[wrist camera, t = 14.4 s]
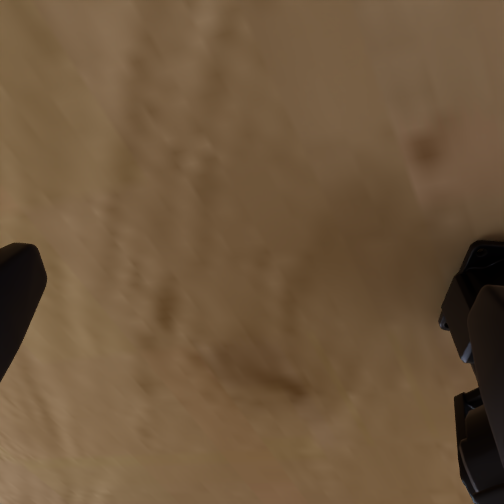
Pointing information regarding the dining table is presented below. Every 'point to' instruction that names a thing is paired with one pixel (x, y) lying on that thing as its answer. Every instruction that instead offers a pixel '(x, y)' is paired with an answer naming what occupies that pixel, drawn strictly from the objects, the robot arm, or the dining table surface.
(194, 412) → the dining table surface
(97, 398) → the dining table surface
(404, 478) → the dining table surface
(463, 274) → the robot arm
